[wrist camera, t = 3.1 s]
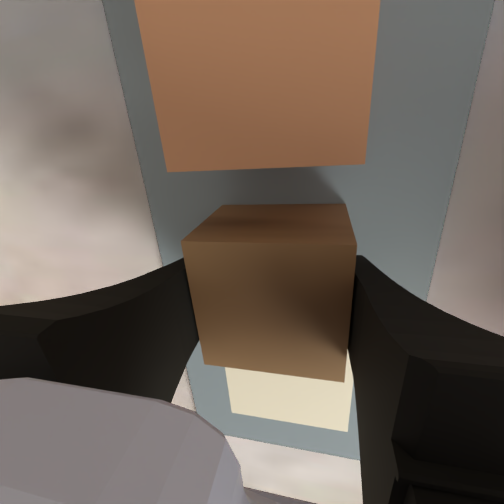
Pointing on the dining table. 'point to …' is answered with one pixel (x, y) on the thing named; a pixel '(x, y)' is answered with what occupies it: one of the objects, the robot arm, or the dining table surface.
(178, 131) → the terracotta block
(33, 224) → the dining table surface
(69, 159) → the dining table surface
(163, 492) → the robot arm
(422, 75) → the board
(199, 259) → the walnut block
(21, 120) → the dining table surface
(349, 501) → the dining table surface
